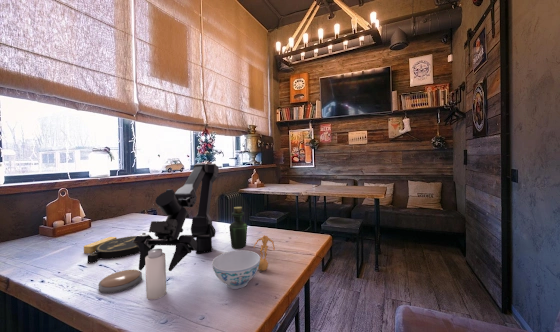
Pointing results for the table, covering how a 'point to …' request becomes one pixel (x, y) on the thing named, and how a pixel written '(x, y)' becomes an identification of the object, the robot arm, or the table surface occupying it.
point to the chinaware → (236, 267)
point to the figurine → (263, 262)
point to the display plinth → (120, 281)
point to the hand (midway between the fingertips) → (154, 270)
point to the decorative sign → (111, 248)
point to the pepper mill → (155, 274)
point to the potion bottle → (238, 230)
